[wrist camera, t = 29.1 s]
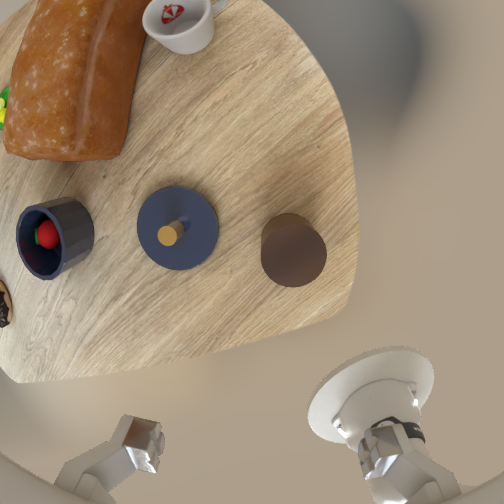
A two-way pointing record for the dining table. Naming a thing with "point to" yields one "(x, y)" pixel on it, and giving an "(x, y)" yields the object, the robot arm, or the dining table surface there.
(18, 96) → the bread
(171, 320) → the dining table surface
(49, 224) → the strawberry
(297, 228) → the stand
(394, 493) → the robot arm
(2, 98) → the green dish with lemons
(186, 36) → the cup
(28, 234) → the pot
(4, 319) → the donut
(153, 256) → the pot lid
